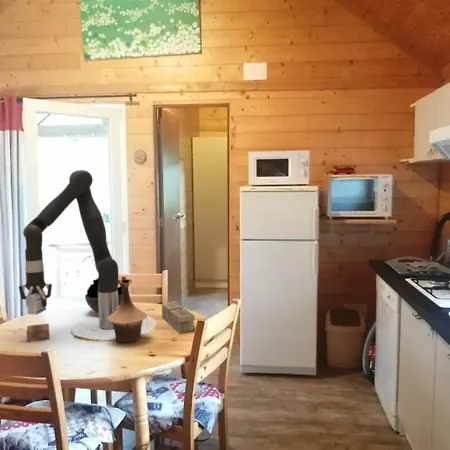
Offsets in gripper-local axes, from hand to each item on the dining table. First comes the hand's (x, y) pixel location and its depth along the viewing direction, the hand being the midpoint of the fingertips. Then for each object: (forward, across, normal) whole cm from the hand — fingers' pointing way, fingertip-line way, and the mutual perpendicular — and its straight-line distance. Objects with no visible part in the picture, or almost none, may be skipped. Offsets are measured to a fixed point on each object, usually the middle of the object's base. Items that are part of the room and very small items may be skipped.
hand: (36, 307), depth 217 cm
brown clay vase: (+14, -40, +12) cm, 44 cm away
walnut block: (+14, 0, 0) cm, 14 cm away
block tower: (+14, -62, -5) cm, 64 cm away
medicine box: (+2, 0, 0) cm, 2 cm away
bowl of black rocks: (+14, -28, -34) cm, 46 cm away
